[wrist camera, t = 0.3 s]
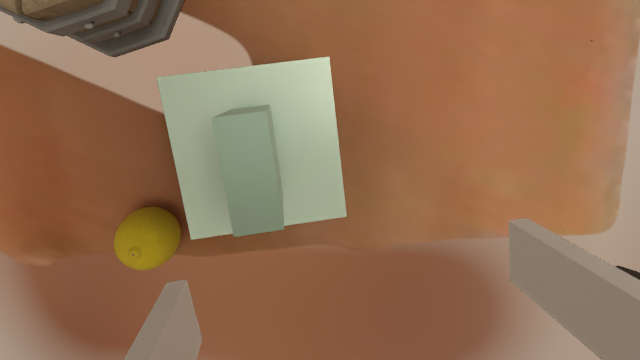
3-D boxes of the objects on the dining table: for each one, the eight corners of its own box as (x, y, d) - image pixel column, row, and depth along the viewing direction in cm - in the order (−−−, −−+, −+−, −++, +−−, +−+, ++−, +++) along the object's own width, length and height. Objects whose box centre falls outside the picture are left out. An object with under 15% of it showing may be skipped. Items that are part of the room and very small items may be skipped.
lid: (164, 77, 31) (103, 72, 20) (326, 58, 32) (349, 43, 21) (196, 231, 34) (158, 296, 23) (343, 209, 35) (371, 262, 24)
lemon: (129, 200, 40) (92, 227, 32) (184, 195, 40) (161, 220, 32) (139, 250, 41) (106, 288, 33) (192, 245, 42) (172, 280, 34)
